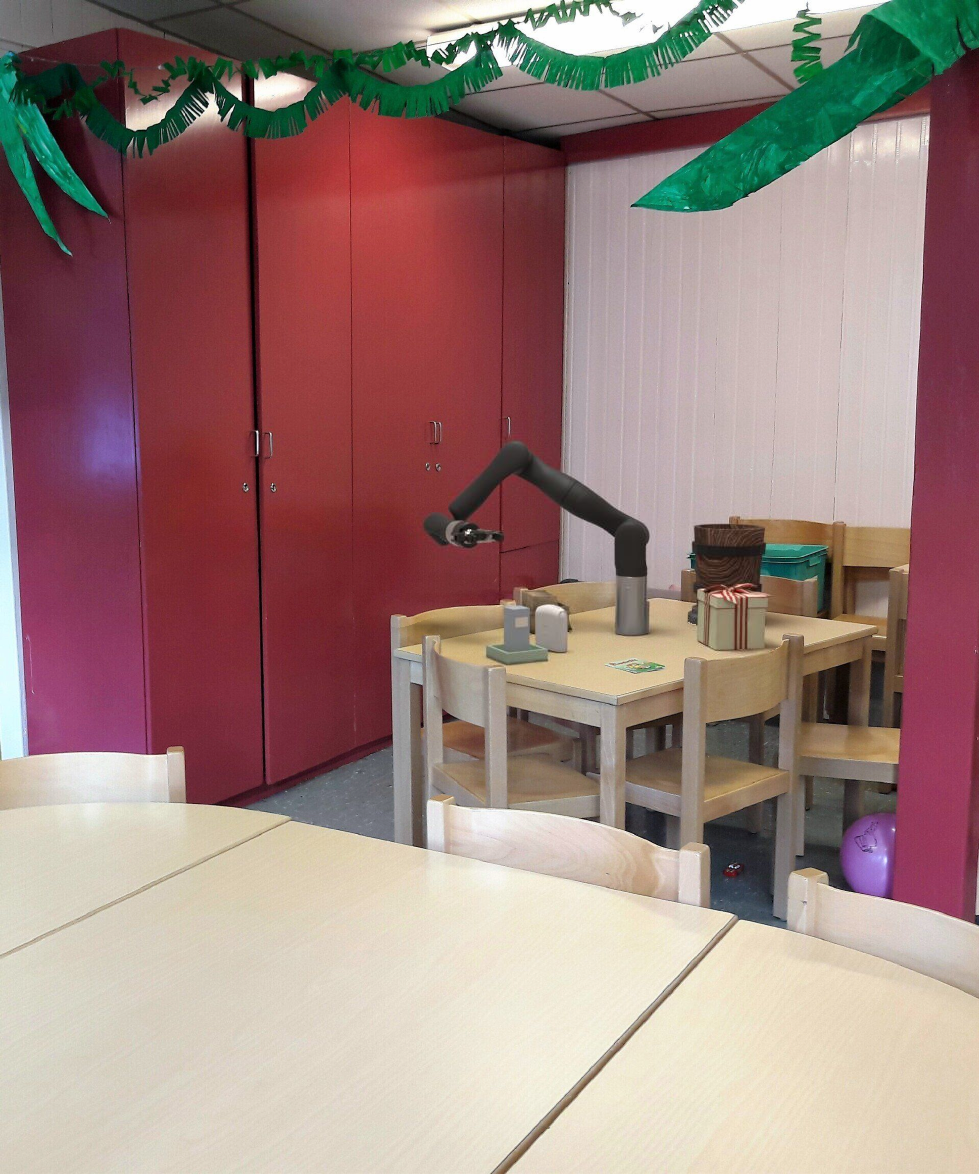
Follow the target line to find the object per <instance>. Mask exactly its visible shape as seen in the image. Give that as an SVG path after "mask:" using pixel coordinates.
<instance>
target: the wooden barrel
mask: <svg viewBox="0 0 979 1174" xmlns="http://www.w3.org/2000/svg"><path fill="white" fill-rule="evenodd" d="M765 531H766V527H765V526H763V525H755V524H746V523H743V524H742V523H703V524H697V525H694V526H693V532H694V533H693V534H694V535H693V536H694V538H693V539H694V540H693V541H692V542H691V552H692V553H693V554H694V565H695V566H694V569H695V570H694V571H695V581H694V582H693V583H692V584H693V585H692V587H693V588H692V589H693V594H695V597H696V599H695V600H696V601H695V602H696V604H694V605H692V606H691V610H690V611H688V612H687V623H688V622H690V623H692V624H696V625H698V601H699V600H697V592H698V589H706V588H708V587H709V586H714V585H724V586H726V587H729V588H732V587H734V586H736V585H737V584H746V583H749V584H753V585H757V586H758V587H750V590H752V591H756V592H762V590H763V584H762V583H760V582H761V581H760V580H761V572H762V561H763V555H766V550H767V542H764V541H765ZM765 624H766V625H767V618H766V619H765Z"/></svg>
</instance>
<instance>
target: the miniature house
mask: <svg viewBox="0 0 979 1174" xmlns="http://www.w3.org/2000/svg"><path fill="white" fill-rule="evenodd" d="M542 605H555V606H558V607H560V608H562V609H564V610H565V611H566V613H567V632H569V633H570V632H571V631H570V630H572V631H573V627H572V626H571V623H570V622H571V621H570V614H572V612H571V610H570V606H569V605H567V604H565V603H563V602H561V601H559V600H558V596H557V595H556V594H552V593H549V592H547V591H546V590H545V589H539V590H538V589H537V590H521V606H524V607H527V608H530V633H531V634H530V635H532V634H533V635H535V612H536V609H537V608H538V607H539V606H542Z"/></svg>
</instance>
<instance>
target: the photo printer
mask: <svg viewBox="0 0 979 1174" xmlns="http://www.w3.org/2000/svg"><path fill="white" fill-rule="evenodd" d="M534 635H535V636H534V638H535V639H534V640H535V641H534V643H535V644H534V645H537V646H540V647H543V648H546V649H548V651H551V652H556V653H565V652H567V650H568V633H567V613H566V611H565V610H564V609H562V608H560V607H558V606H555V605H542V606H539V607H538V608H537V609H536V612H535V634H534Z"/></svg>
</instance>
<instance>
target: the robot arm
mask: <svg viewBox="0 0 979 1174" xmlns="http://www.w3.org/2000/svg"><path fill="white" fill-rule="evenodd" d="M511 475H514V476H516V477H518V478H521V479H523V480H524V481H525V482H528V483H530V485H532V486H535V487H536V488H537V489H539V490H540V491H541V492H542V493H543V494H544V495H546V497H547V498H549V499H550V500H551V501H553V502H554V503H555V504H556V505H558V506H559V507H561V508H562V509H563V510H565V511H567V512H568V513H569V514H571V515H572V516H575V517H577V518H579V519H581V520H583V521H585V522H588V523H589V524H592V525H593V526H597V527H599V528H600V529H602V530H604V531H605V532H607V534H609V535H610V536H612V537H613V538H614V541H613V542H614V543H613V544H614V547H613V548H614V550H613V551H614V558H613V559H614V568H615V597H614V598H615V600H614V601H615V602H614V603H615V604H614V606H615V607H614V612H615V613H614V616H615V617H614V633H615V634H618V635H622V636H623V635H624V636H642V635H645V634H649V633H650V606H651V605H650V601H649V600H648V598H647V597H648V565H647V544H648V543H649V542H650V537H651V536H650V531H649V529H648V526H646V524H645V523H644V522H642V521H640V520H638V519H636V518H634V517H632V516H631V515H629V514H627V513H625V512H622V511H621V510H619V509H618V508H616V507H615V506H613V505H612V504H611V503H609V502H608V501H607V500H605V499H604V498H603V497H602V496H600V495H599V494H598V493H596V492H595V491H593V490H592V489H591V488H590V487H589V486H587V485H585V484H584V483H583V482H581V481H580V480H577V479H576V478H575V477H573V476H571V475H569V474H567V473H565V472H563V471H561V470H558V469H555V468H554V467H551V466H550V465H549V464H547V463H545V462H544V461H543V460H542V459H541V458H539V457H538V456H537V455H536V454H534V453H533V452H532V451H531V450H530V449H529V447H528V446H527V445H526V444H525V443H523V442H522V441H520V440H511V441H508V442H506V443H505V444H504V445H503V446H502V447H501V448H500V450H499V451H498V452H497V453H496V456H494V458H493V459H492V461H491V462H490V463H489V464H488V465H487V467H486V468H485V469H484V470H483V471H482V472H481V473H480V474H479V475H478V476H477V477H476V478H475V480H473V481H472V482H471V483H470V484H469V485H468V486H467V487H466V488H465V489H464V490H463V491H462V492H461V493H459V494H458V495H457V496H456V497H455V498H454V499H453V500H452V501H451V502H450V503H449V505H448V506H447V508H448V511H449V513H450V514H451V515H452V517H453V519H452V518H450V517H449V516H447V515H445V514H443V513H441V512H433V513H430V514H429V515H427V516H426V517H425V518H424V520H423V523H422V527H423V531H424V532H425V533H426V534H427V535H428V536H429V537H430V538H431V539H432V540H433V541H434V542H435V543H436V544H437V545H438V546H440V547H445V546H446V547H447V546H448V545H453V546H456V547H460V548H465V549H473V548H475V547H476V546H478V545H479V544H481V543H482V544H483V543H488V544H489V543H492V542H498V543H503V542H504V541H505V535H504V531H499V530H498V531H497V530H494V529H493V530H492V529H491V530H489V529H483V528H480V526H479V525H478V524H477V523H475V522H472V521H467V520H468V519H469V518H470V517H471V516H472V515H474V514H475V513H476V511H478V510H479V509H480V508H481V506H483V504H485V503H486V501H487V500H488V498H489V497H490V496H491V495H492V493H493V492H494V491H495V489H496V488H497V487H498V486H499V485H501V484H502V483H503V481H504V480H506V479H507V478H509V477H510V476H511Z"/></svg>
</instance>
